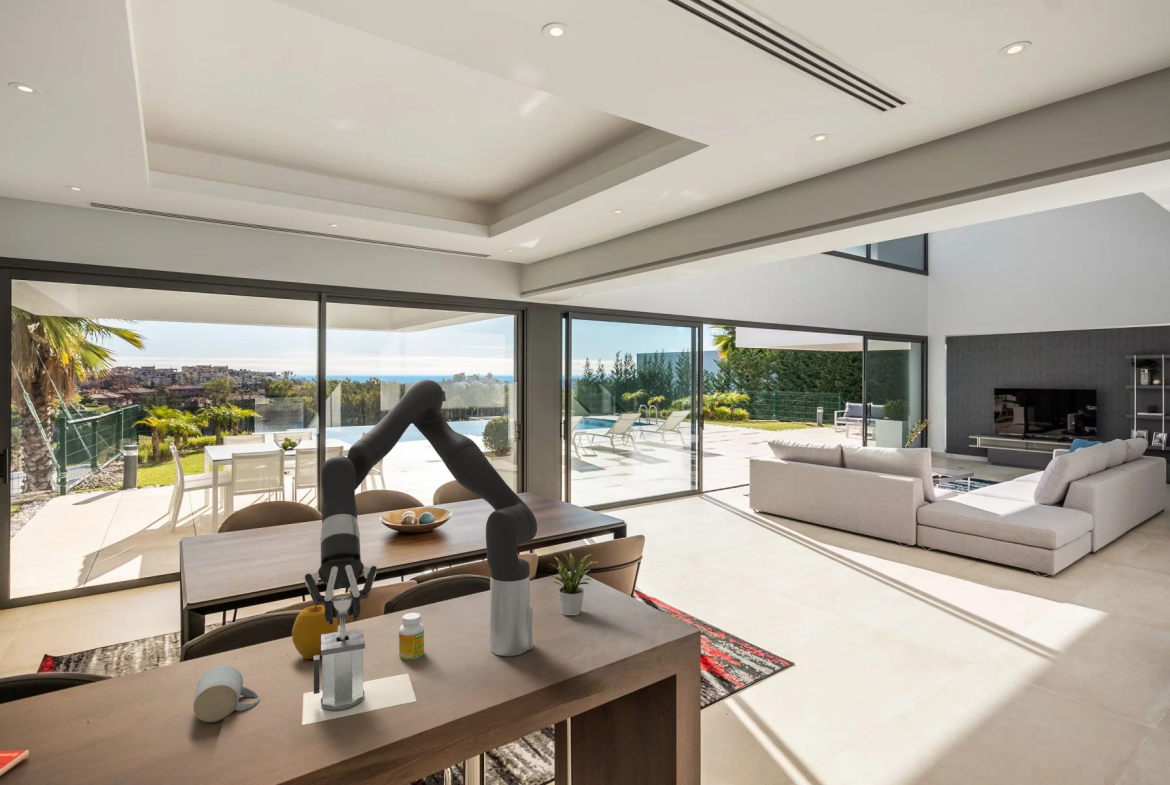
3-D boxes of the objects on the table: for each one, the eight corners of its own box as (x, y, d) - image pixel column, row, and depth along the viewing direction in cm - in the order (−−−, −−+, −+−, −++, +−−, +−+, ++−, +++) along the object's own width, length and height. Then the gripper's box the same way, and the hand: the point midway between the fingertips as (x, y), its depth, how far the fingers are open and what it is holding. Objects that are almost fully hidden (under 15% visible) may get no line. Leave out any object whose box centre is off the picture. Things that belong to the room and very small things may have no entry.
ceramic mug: (191, 730, 107) (192, 687, 107) (196, 708, 114) (197, 668, 114) (258, 716, 112) (259, 675, 112) (259, 695, 119) (260, 657, 119)
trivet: (407, 678, 126) (407, 673, 126) (416, 706, 115) (416, 700, 115) (303, 698, 118) (303, 693, 118) (302, 730, 107) (302, 725, 107)
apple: (319, 668, 130) (319, 615, 130) (281, 663, 132) (281, 611, 132) (346, 649, 139) (346, 599, 139) (310, 645, 142) (310, 596, 141)
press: (362, 686, 120) (362, 627, 120) (365, 705, 113) (365, 643, 113) (314, 696, 116) (313, 635, 116) (313, 716, 109) (313, 651, 109)
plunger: (356, 663, 118) (356, 592, 118) (358, 676, 114) (358, 601, 113) (327, 669, 116) (327, 596, 116) (327, 681, 111) (327, 605, 111)
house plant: (606, 605, 168) (606, 547, 167) (596, 624, 154) (596, 561, 154) (557, 601, 171) (557, 544, 171) (543, 619, 157) (543, 558, 157)
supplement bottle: (416, 665, 132) (416, 621, 132) (394, 662, 133) (394, 619, 133) (428, 654, 137) (427, 612, 137) (406, 652, 138) (406, 610, 138)
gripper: (375, 547, 129) (380, 623, 118) (303, 554, 123) (301, 635, 112) (377, 528, 124) (383, 606, 113) (302, 535, 118) (301, 618, 107)
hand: (342, 620), depth 113 cm, fingers closed on plunger, 3 cm apart
